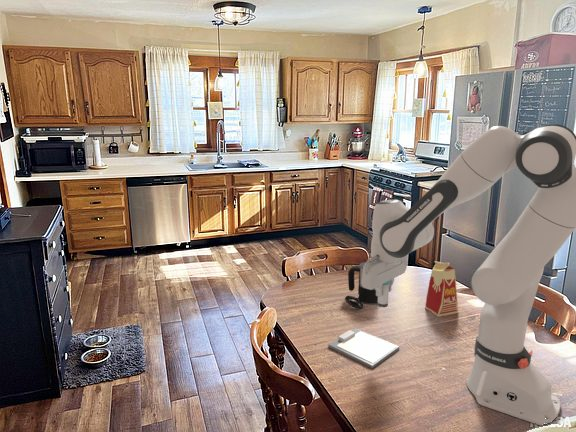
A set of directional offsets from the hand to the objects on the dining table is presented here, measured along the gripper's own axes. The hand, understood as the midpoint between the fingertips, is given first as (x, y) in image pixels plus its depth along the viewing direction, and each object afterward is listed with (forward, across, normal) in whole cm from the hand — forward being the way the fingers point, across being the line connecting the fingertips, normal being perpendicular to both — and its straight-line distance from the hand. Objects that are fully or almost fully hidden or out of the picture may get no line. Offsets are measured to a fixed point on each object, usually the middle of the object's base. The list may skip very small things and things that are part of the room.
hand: (383, 293), depth 135 cm
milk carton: (+19, +39, -1) cm, 44 cm away
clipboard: (+19, -4, +4) cm, 20 cm away
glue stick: (+4, 0, 0) cm, 4 cm away
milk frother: (+19, +24, +24) cm, 39 cm away
